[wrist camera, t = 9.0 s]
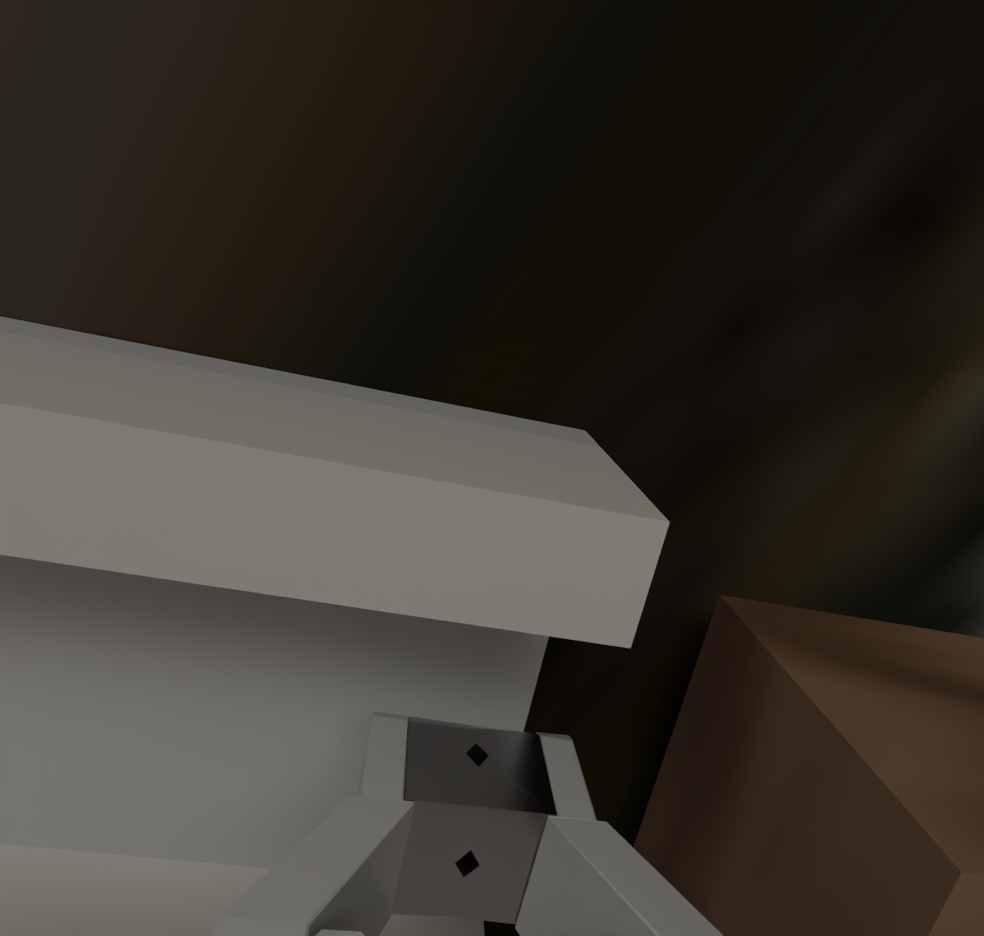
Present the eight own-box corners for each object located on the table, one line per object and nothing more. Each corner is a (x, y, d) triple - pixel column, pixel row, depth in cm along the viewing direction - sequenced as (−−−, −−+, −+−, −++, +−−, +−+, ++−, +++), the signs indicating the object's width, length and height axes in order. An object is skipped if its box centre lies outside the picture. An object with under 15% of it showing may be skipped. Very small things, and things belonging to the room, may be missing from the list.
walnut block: (621, 882, 12) (742, 1289, 7) (720, 594, 10) (962, 873, 6) (908, 909, 13) (1189, 1291, 8) (1041, 648, 11) (1494, 928, 6)
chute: (-392, 823, 11) (-827, 1112, 7) (-515, 215, 8) (-1307, 170, 5) (463, 900, 13) (473, 1157, 9) (585, 430, 10) (669, 522, 7)
